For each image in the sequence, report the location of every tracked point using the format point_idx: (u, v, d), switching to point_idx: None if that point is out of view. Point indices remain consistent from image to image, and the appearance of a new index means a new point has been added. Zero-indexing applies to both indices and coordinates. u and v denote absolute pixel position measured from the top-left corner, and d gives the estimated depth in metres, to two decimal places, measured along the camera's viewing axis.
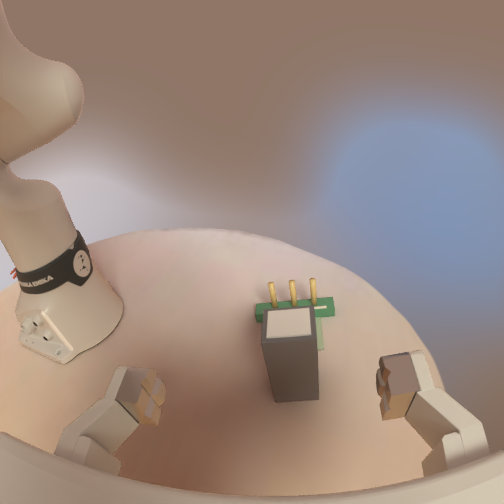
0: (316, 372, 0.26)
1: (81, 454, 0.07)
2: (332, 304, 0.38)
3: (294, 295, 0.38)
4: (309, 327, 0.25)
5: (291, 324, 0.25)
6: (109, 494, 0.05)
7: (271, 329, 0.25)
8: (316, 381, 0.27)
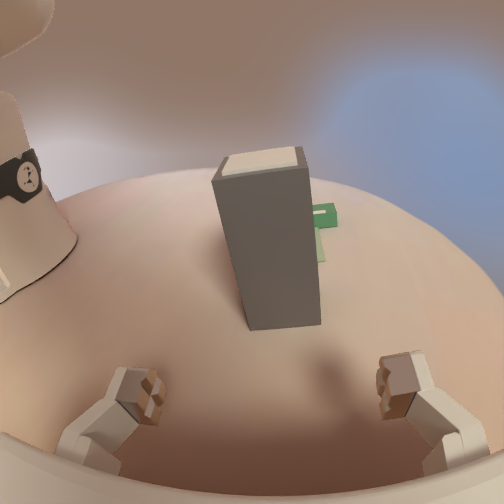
0: (313, 255, 0.16)
1: (81, 454, 0.07)
2: (333, 209, 0.28)
3: None
4: (294, 157, 0.15)
5: (264, 158, 0.15)
6: (109, 494, 0.05)
7: (231, 165, 0.15)
8: (315, 278, 0.17)
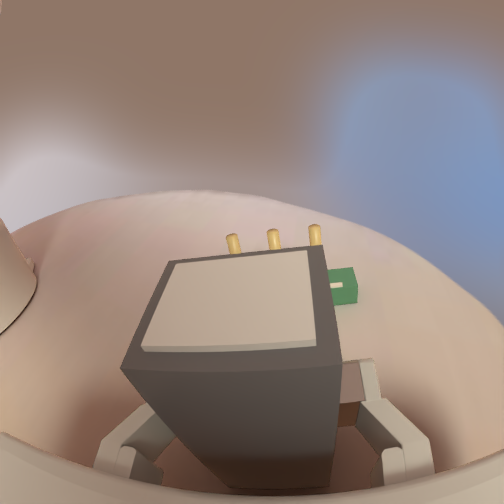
0: (328, 451, 0.08)
1: (125, 466, 0.07)
2: (353, 280, 0.20)
3: None
4: (308, 314, 0.06)
5: (239, 303, 0.07)
6: (109, 494, 0.05)
7: (166, 319, 0.07)
8: (326, 465, 0.09)
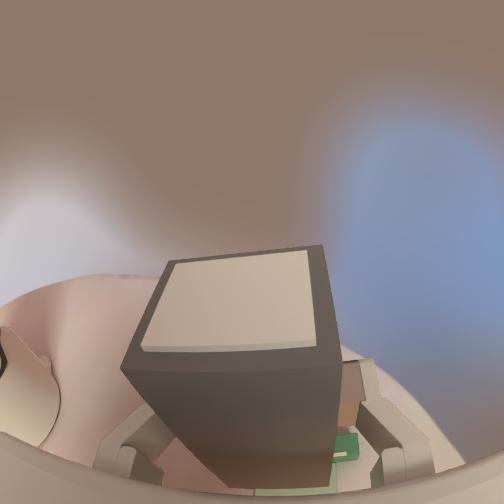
0: (328, 451, 0.08)
1: (125, 466, 0.07)
2: (356, 448, 0.20)
3: None
4: (309, 314, 0.06)
5: (239, 303, 0.07)
6: (109, 494, 0.05)
7: (165, 319, 0.07)
8: (326, 465, 0.09)
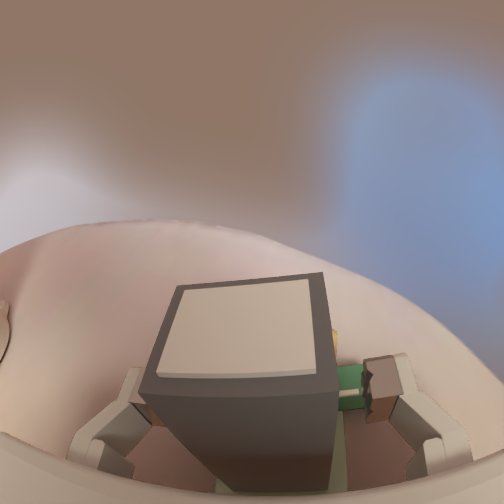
0: (327, 460, 0.08)
1: (94, 458, 0.07)
2: None
3: None
4: (309, 344, 0.07)
5: (246, 332, 0.07)
6: (109, 494, 0.05)
7: (178, 347, 0.07)
8: (325, 472, 0.09)
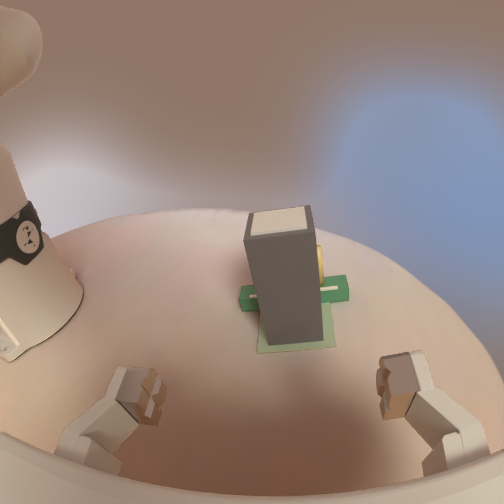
0: (318, 291, 0.22)
1: (81, 454, 0.07)
2: (345, 284, 0.28)
3: None
4: (304, 221, 0.20)
5: (282, 220, 0.21)
6: (109, 494, 0.05)
7: (257, 226, 0.21)
8: (319, 308, 0.22)
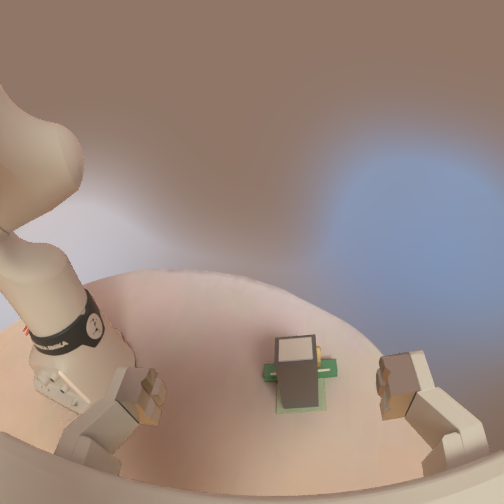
0: (316, 386, 0.33)
1: (81, 454, 0.07)
2: (335, 366, 0.39)
3: None
4: (311, 353, 0.32)
5: (297, 350, 0.32)
6: (109, 494, 0.05)
7: (282, 354, 0.32)
8: (316, 392, 0.34)
